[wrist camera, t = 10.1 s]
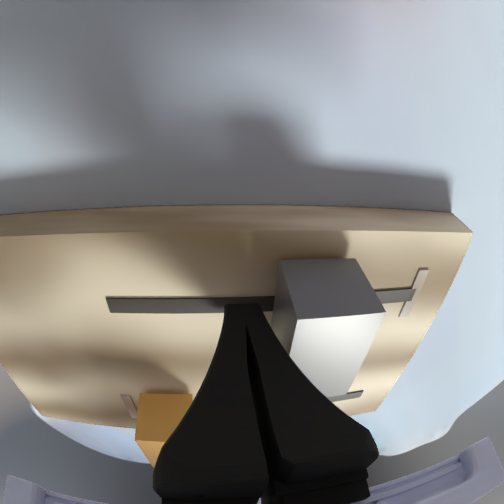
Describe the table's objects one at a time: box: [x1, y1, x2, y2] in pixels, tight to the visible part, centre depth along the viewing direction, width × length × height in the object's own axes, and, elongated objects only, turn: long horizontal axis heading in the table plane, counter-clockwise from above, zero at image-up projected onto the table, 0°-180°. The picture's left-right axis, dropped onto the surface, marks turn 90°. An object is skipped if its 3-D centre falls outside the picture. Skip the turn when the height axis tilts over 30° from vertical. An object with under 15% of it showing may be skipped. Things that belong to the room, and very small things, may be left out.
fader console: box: [0, 205, 474, 428], centre depth 16 cm, size 16×26×2 cm, turn 86°
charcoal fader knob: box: [271, 258, 386, 397], centre depth 12 cm, size 5×3×3 cm, turn 176°
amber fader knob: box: [135, 393, 193, 467], centre depth 16 cm, size 5×3×3 cm, turn 177°
